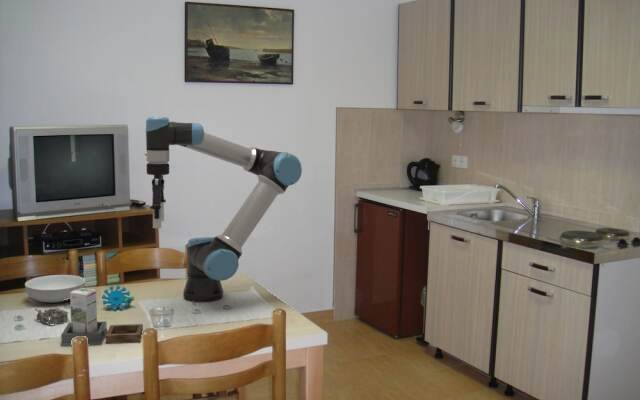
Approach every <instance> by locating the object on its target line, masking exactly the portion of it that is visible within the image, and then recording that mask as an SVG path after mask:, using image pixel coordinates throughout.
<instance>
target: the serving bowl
mask: <svg viewBox="0 0 640 400" xmlns="http://www.w3.org/2000/svg"><path fill="white" fill-rule="evenodd" d="M85 286H86V279H85V278H84V277H81V276H78V275H73V274H54V275H53V274H51V275H45V276H39V277H34V278H31V279H29V280H27V281H26V282H25V283H24V288H25V291H26V293H27V296H29V298H31V299H33V300H35V301H38V302H43V303H49V304H55V303H57V304H58V303H62V302H65V301H64V299H67V298H70V292H72V291H74V290H76V289H79V288H85Z"/></svg>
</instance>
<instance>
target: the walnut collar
mask: <svg viewBox="0 0 640 400" xmlns="http://www.w3.org/2000/svg"><path fill="white" fill-rule="evenodd" d="M107 331H108V332H107V334H106V336H105V344H126V343H127V344H129V343H130V344H131V343H133V344H134V343H140V342H141V341H142V340H141V339H142V337H141V335H142V336H143V333H142V331H143V332H144V325H143V323H136V324H135V323H134V324H129V323H128V324H110V325H109V327H108V329H107Z"/></svg>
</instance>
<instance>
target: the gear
mask: <svg viewBox="0 0 640 400" xmlns="http://www.w3.org/2000/svg"><path fill="white" fill-rule="evenodd" d="M114 288H115V287H114V286H113V285H111V286H109V289H107V288H106V289H105V290H104V291H103V292H104V293H103V294H102V295H101V299H102V304H103V305H106V309H107V310H109V309H111V308H112V311H114V312H115V311H117V309H118V308H117V307H118V306H119V310H121V311H123V310H124V306H125V307H129V306H131V303H132V301H134V300H135V296H133V295H132V296H130V295H131V292H130V290H129V291H127V288H126V287H125V286H124V287H123V286H122V289H121V286H120V285H119V284H118V285H116V289H114ZM109 290H110V293H109ZM106 295H107V296H106ZM123 304H124V306H123Z"/></svg>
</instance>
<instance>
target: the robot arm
mask: <svg viewBox="0 0 640 400" xmlns="http://www.w3.org/2000/svg"><path fill="white" fill-rule="evenodd" d="M145 121H146V122H145V142H146V143H145V146H146V149H145V150H146V152H144V156H145V157H146V162H147V163H146V165H145V166H146V174H147V175H150V176H153V179H152V180H151V189H152V190H151V191H152V205H151V206H150V207H149V208H150V210H152V229H162V222H165V203H166V202H167V201H166V199H165V195H164V191H165V190H164V189H165V179H164V176H167V175H169V174H170V164H169V162H170V146H180V147H184V148H187V149H188V150H189V149H190V150H192V151H196V152H198V153H201V154H204V155H207V156H210V157H212V158H216V159H218V160H221V161H225V162H227V163H231V164H233V165H237V166H239V167H242V168H243V170H244V171H246V172H249V173H250V174H253V175H256V176H257V177H258V178H257V179H258V182H257V184H256V185H255V186H254V188H253V189H252V191H251V192H250V193H249V195H248V197H247V198H246V199H245V200H244V202H243V204H242V205H241V206H240V208H239V209H238V211H237V212H236V214H235V215H234V217H233V218H232V219H231V221H230V222H229V223H228V225H227V227H226V228H225V229H224V231H223V232H222V233H221V234H219V235H215V236H206V237H205V236H203V237H193V238H190V239H188V241H187V247H186V248H187V279H186V282H185V286H184V288H183V299H184V300H186V301H188V302H192V301H195V303H211V302H215V301H218V300H222V299H223V298H224V288H223V285H222V283H221V281H226V280H228V279H231V278H232V277H233V276H235V274H236V273H237V271H238V269H239V259H240V258H241V257H242V255H243V251H242V250H243V246H244V245H245V243H246V241H247V240H248V238H250V235H251V234H252V233H253V231H254V230H255V228H256V227H257V225H259V223H260V221H261V220H262V219H263V217H264V216H265V214H266V212H267V211H268V209H269V208H270V206H271V205H272V204H273V203H274V201H275V199H276V198H277V197H278V195H282V194H285V192H286V190H287V189H288V188H289V187H290V186H292V185H296V183H297V182H299V180H300V179H301V176H302V173H303V172H302V171H303V167H302V163H301V161H300V159H299V158H298V157H297V156H296V155H294V154H293V153H289V152H285V151H284V152H282V151H276V150H265V149H260V148H257V147H255V146H251V147H250V148H249V147H246V146H243V145H240V144H237V143H235V142H232V141H229V140H227V139H224V138H221V137H218V136H216V135H213V134H210V133H206V132H205V130H204V127H203V125H202V124H201V123H197V122H196V123H195V122H177V121H170V120H169V117H165V116H150V117H149V116H148V117H147V118H146V120H145Z"/></svg>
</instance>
